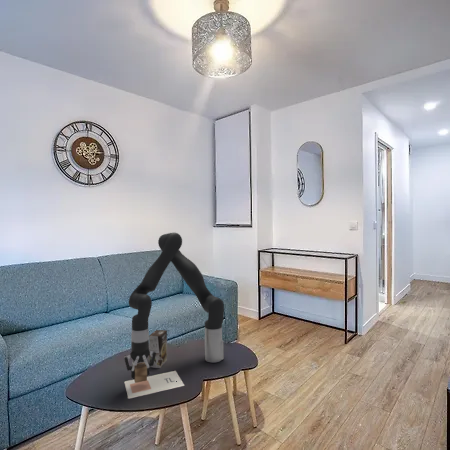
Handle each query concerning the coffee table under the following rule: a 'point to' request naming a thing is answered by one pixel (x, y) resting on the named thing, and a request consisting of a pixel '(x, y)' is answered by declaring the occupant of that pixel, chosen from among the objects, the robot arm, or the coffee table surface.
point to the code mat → (153, 384)
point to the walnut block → (140, 372)
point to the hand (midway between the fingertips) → (140, 376)
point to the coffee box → (158, 347)
